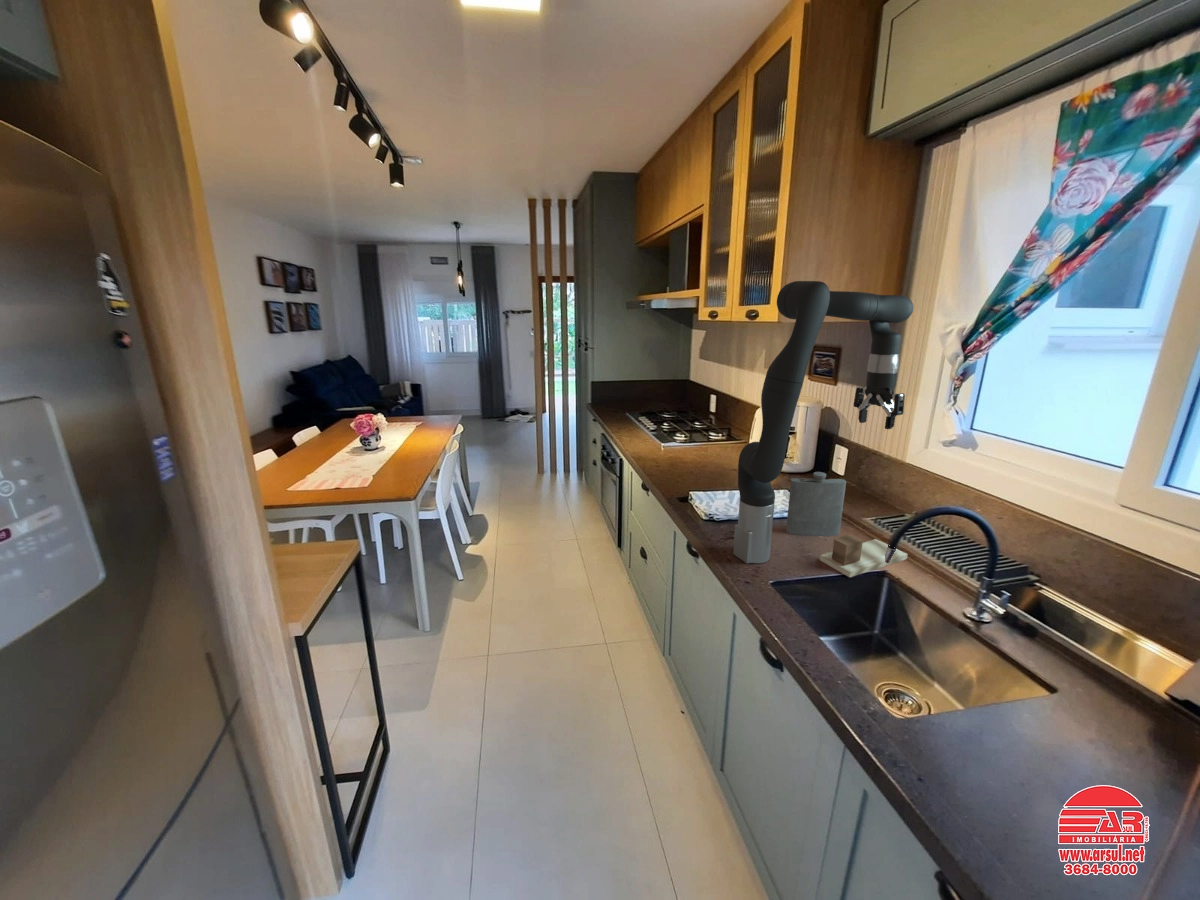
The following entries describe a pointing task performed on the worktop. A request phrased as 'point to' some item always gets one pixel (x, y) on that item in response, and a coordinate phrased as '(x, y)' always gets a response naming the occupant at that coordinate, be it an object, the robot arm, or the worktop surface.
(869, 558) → the birch board
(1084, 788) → the worktop surface
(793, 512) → the hip flask
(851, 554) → the block
